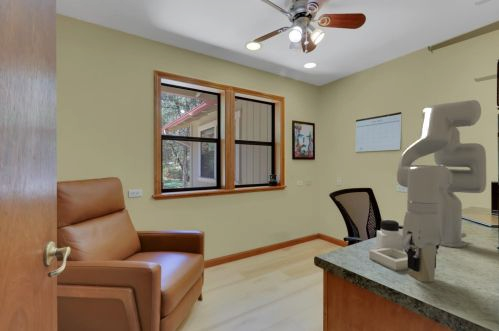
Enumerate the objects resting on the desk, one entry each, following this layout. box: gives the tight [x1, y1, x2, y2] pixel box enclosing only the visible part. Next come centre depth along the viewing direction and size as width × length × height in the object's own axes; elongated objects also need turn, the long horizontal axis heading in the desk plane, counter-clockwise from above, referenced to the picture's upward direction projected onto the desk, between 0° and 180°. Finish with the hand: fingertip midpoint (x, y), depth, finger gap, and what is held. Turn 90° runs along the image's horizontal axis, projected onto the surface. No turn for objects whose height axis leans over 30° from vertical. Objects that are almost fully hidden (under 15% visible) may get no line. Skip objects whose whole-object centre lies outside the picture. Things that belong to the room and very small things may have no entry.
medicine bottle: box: [376, 219, 404, 252], centre depth 93 cm, size 7×7×12 cm
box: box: [408, 243, 436, 283], centre depth 71 cm, size 5×4×11 cm
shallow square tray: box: [368, 247, 409, 272], centre depth 82 cm, size 10×10×3 cm
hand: (421, 267), depth 71 cm, fingers open, 6 cm apart
